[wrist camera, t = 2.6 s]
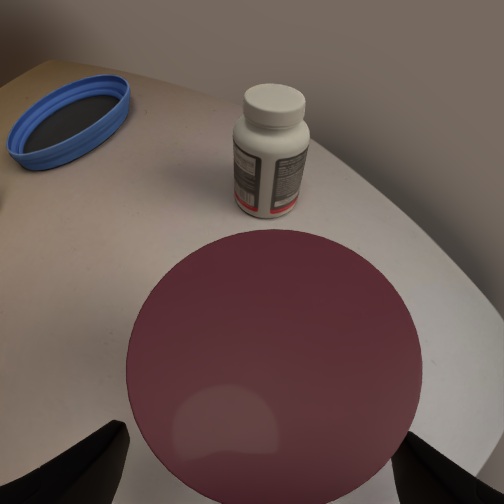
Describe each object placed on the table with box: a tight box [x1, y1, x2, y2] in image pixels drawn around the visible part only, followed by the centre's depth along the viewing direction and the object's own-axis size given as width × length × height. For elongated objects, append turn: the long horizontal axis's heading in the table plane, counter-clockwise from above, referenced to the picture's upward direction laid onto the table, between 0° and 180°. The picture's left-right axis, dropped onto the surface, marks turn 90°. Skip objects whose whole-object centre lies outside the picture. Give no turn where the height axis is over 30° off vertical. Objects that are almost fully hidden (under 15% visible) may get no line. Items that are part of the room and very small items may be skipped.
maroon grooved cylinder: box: [126, 229, 422, 504], centre depth 11 cm, size 7×7×13 cm
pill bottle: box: [233, 84, 310, 218], centre depth 21 cm, size 5×5×10 cm
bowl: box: [6, 75, 130, 170], centre depth 30 cm, size 18×18×4 cm
